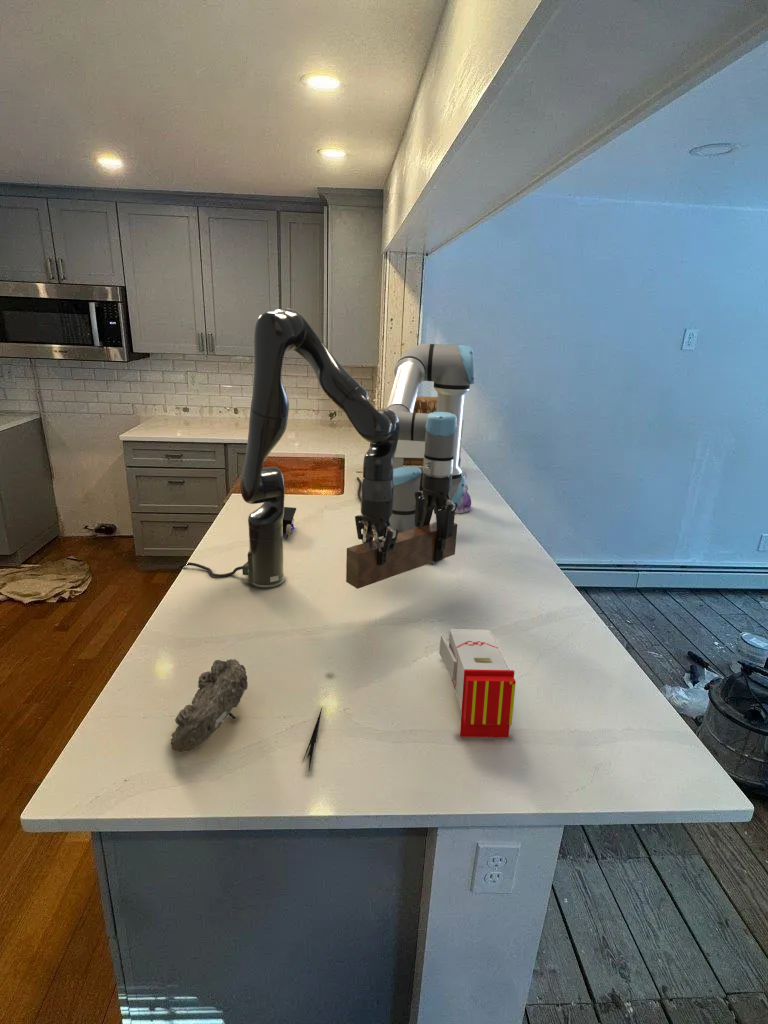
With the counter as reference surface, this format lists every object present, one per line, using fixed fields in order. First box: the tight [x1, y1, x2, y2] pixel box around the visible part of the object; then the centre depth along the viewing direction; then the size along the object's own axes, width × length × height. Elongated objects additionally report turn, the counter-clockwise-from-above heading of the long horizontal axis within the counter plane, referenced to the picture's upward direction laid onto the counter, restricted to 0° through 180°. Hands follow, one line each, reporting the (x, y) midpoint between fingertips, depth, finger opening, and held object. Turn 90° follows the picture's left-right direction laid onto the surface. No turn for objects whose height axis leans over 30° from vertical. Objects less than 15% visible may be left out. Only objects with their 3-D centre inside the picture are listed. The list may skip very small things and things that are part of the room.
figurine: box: [455, 472, 472, 514], centre depth 224 cm, size 9×10×15 cm
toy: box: [438, 628, 517, 738], centre depth 117 cm, size 12×13×30 cm
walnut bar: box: [345, 521, 459, 590], centre depth 145 cm, size 34×4×9 cm, turn 131°
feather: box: [301, 673, 332, 771], centre depth 108 cm, size 2×28×2 cm
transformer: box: [385, 395, 464, 469], centre depth 268 cm, size 34×33×41 cm
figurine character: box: [283, 506, 297, 540], centre depth 194 cm, size 7×8×15 cm
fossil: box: [170, 658, 249, 753], centre depth 106 cm, size 22×10×15 cm
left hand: (374, 561), depth 139 cm, fingers closed on walnut bar, 4 cm apart
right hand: (431, 556), depth 153 cm, fingers closed on walnut bar, 4 cm apart
